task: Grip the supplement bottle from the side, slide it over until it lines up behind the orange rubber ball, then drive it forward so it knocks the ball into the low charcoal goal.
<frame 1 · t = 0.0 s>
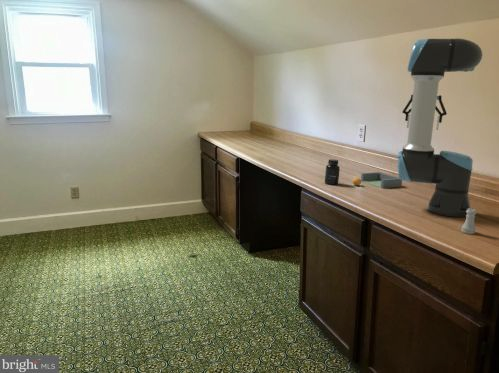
hand: (422, 128, 205), 28 cm above the worktop, tool pointing down, fingers open, 13 cm apart
ball: (356, 185, 203), on the worktop
goal: (379, 183, 208), on the worktop
rook chess piece: (468, 232, 139), on the worktop
supplement bottle: (331, 184, 206), on the worktop
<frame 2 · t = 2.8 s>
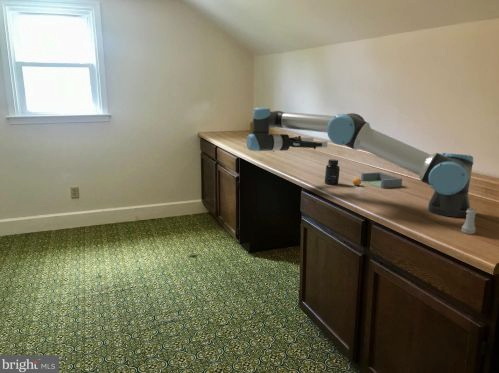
hand: (319, 142, 198), 21 cm above the worktop, tool horizontal, fingers open, 13 cm apart
nothing on the worktop moved.
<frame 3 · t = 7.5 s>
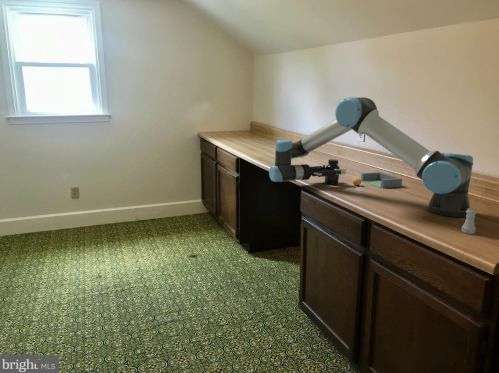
hand: (340, 170, 206), 7 cm above the worktop, tool horizontal, fingers closed on supplement bottle, 7 cm apart
supplement bottle: (331, 183, 206), on the worktop, touching gripper
everything else where it was.
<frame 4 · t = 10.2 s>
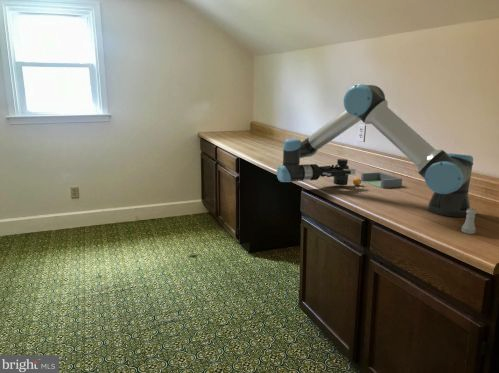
hand: (350, 170, 200), 8 cm above the worktop, tool horizontal, fingers closed on supplement bottle, 7 cm apart
supplement bottle: (340, 184, 199), point 1 cm above the worktop, touching gripper
everything else where it was.
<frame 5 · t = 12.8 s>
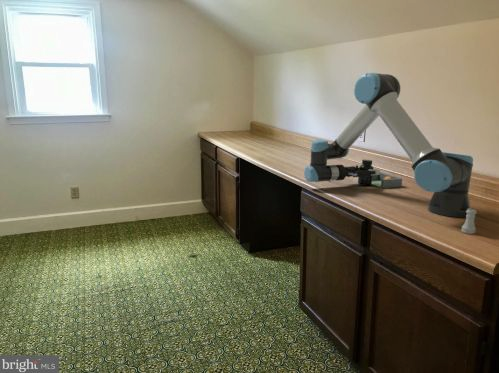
hand: (374, 170, 205), 7 cm above the worktop, tool horizontal, fingers closed on supplement bottle, 7 cm apart
ball: (384, 179, 205), point 3 cm above the worktop, tilted 110°, touching goal
supplement bottle: (364, 184, 205), on the worktop, touching gripper
everything else where it was.
when the fingers open (7 cm above the worktop, at t = 12.8 s): supplement bottle stays where it is, on the worktop.
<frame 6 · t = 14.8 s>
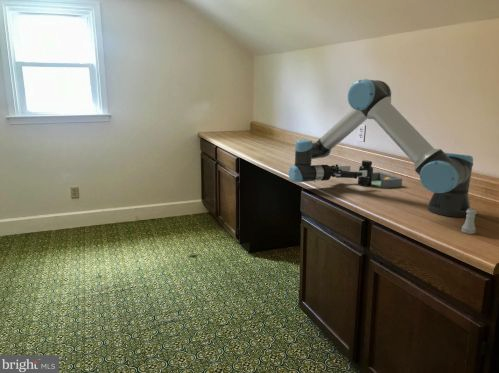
hand: (357, 170, 202), 7 cm above the worktop, tool horizontal, fingers open, 13 cm apart
ball: (384, 182, 204), point 2 cm above the worktop, tilted 79°, touching goal
supplement bottle: (364, 185, 205), on the worktop
everything else where it was.
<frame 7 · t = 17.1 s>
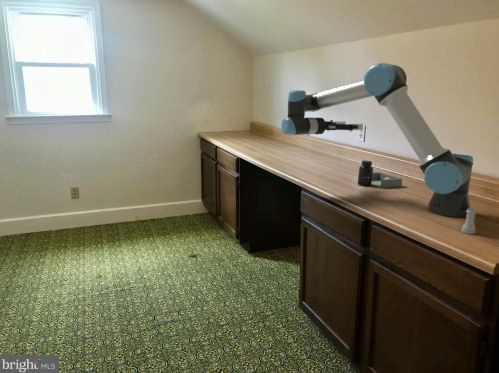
hand: (353, 125, 194), 29 cm above the worktop, tool horizontal, fingers open, 13 cm apart
ball: (383, 183, 203), point 1 cm above the worktop, tilted 66°, touching goal
everything else where it was.
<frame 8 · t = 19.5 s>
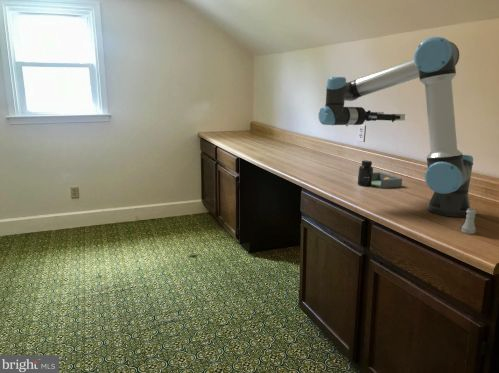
hand: (393, 116, 182), 35 cm above the worktop, tool horizontal, fingers open, 13 cm apart
nothing on the worktop moved.
at the end: ball 4.5 cm from the goal (horizontally); supplement bottle tilted 0° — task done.
